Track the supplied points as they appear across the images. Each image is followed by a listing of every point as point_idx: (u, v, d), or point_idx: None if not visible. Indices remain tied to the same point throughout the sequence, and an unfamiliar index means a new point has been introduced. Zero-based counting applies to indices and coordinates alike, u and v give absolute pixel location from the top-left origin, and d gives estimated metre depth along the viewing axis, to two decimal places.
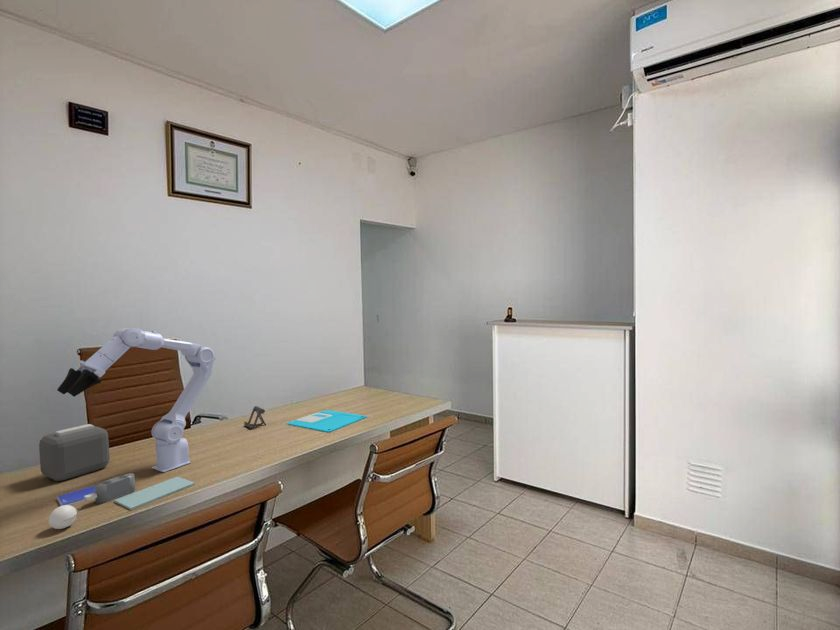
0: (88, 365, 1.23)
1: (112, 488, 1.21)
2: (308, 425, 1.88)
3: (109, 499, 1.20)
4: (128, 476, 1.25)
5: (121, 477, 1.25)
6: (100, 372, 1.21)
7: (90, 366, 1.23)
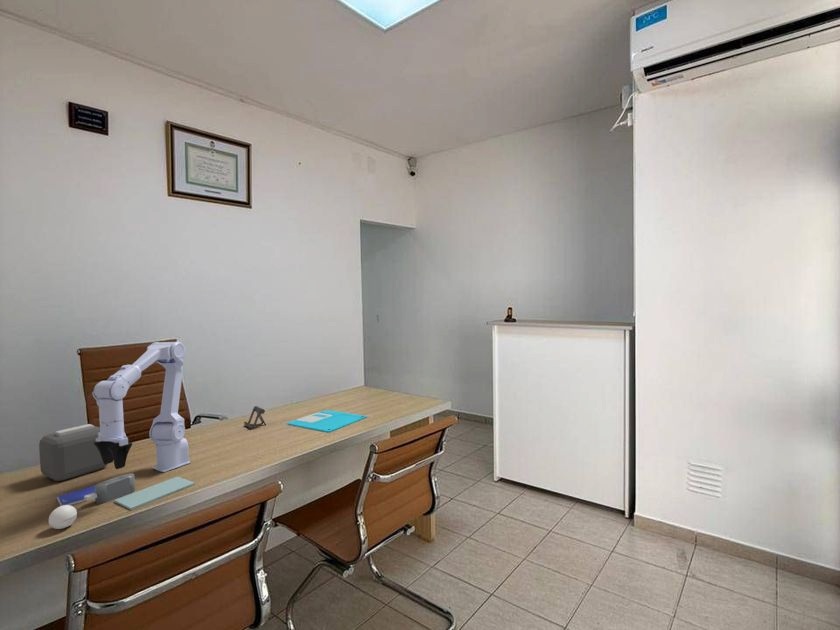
0: (107, 440, 1.19)
1: (112, 488, 1.21)
2: (308, 425, 1.88)
3: (109, 499, 1.20)
4: (128, 476, 1.25)
5: (121, 477, 1.25)
6: (124, 442, 1.19)
7: (109, 440, 1.19)
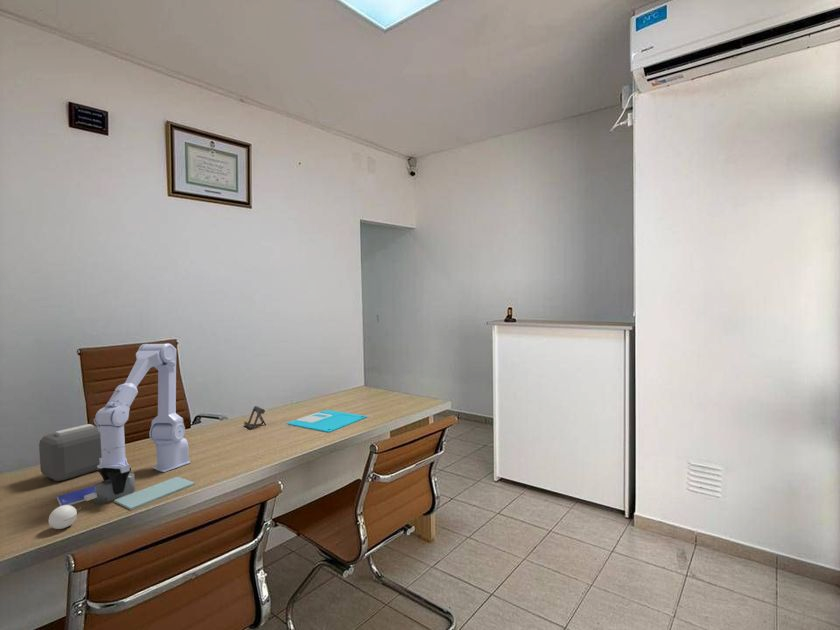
0: (108, 466, 1.20)
1: (112, 488, 1.21)
2: (308, 425, 1.88)
3: (109, 499, 1.20)
4: (128, 476, 1.25)
5: None
6: (125, 469, 1.19)
7: (111, 467, 1.19)
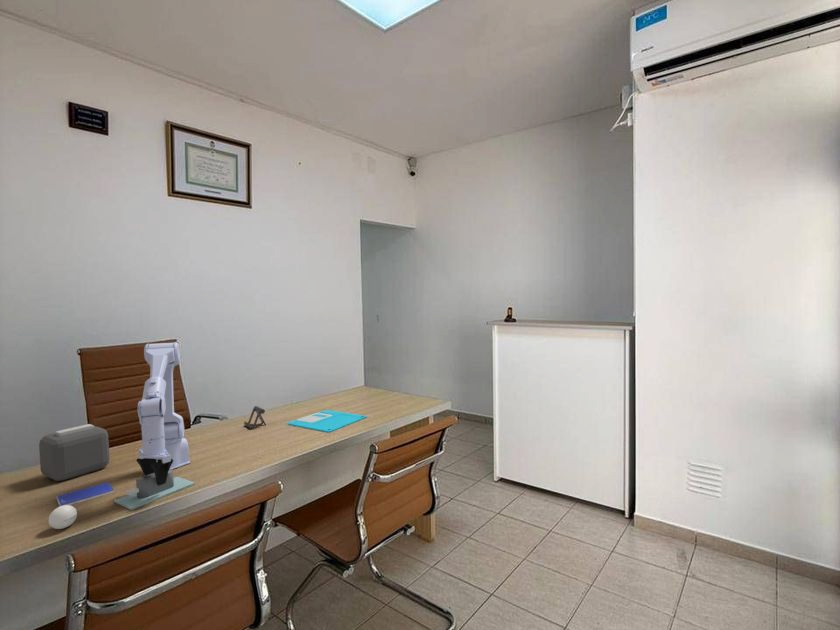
0: (150, 457, 1.21)
1: (153, 483, 1.22)
2: (308, 425, 1.88)
3: (150, 494, 1.21)
4: None
5: None
6: (167, 459, 1.20)
7: (152, 457, 1.21)
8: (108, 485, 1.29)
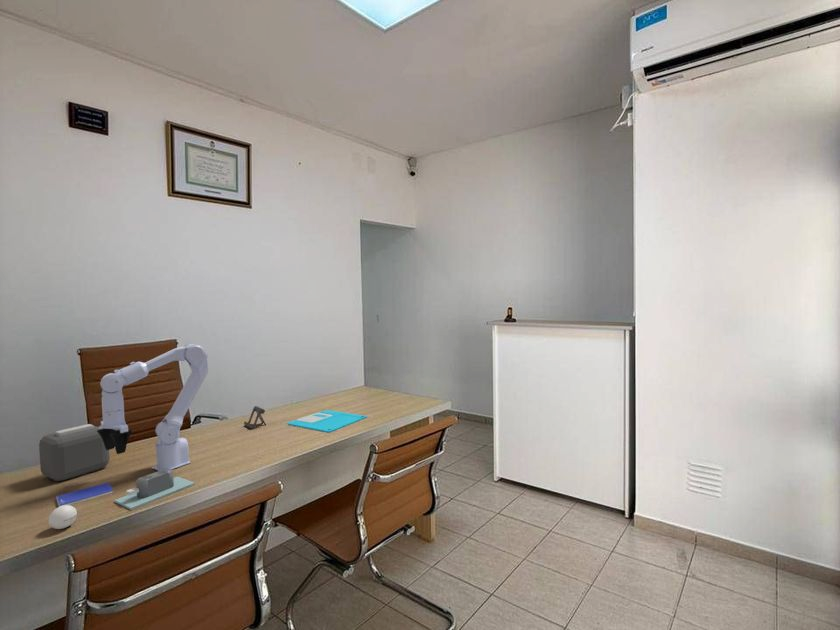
0: (109, 427, 1.32)
1: (153, 483, 1.22)
2: (308, 425, 1.87)
3: (150, 494, 1.21)
4: (167, 471, 1.26)
5: (161, 472, 1.26)
6: (124, 429, 1.31)
7: (111, 427, 1.32)
8: (108, 485, 1.29)
